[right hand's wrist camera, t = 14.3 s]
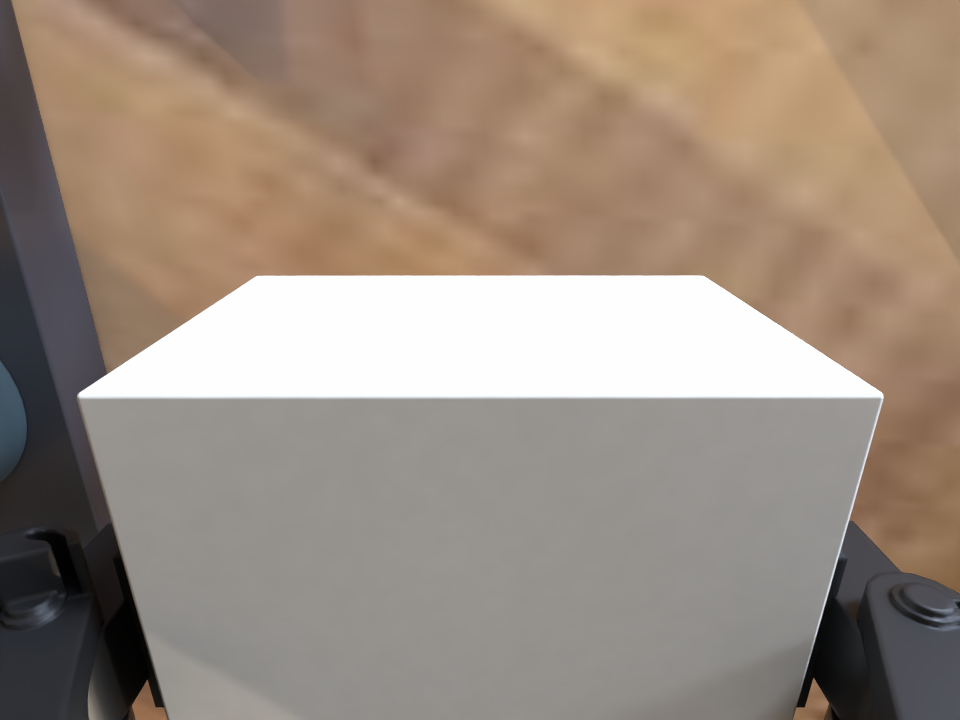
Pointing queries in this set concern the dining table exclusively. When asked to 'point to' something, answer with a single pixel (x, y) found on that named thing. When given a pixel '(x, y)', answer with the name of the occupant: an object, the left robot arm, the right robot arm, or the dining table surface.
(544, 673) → the white square block
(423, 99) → the dining table surface
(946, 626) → the right robot arm
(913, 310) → the dining table surface
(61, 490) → the stand
